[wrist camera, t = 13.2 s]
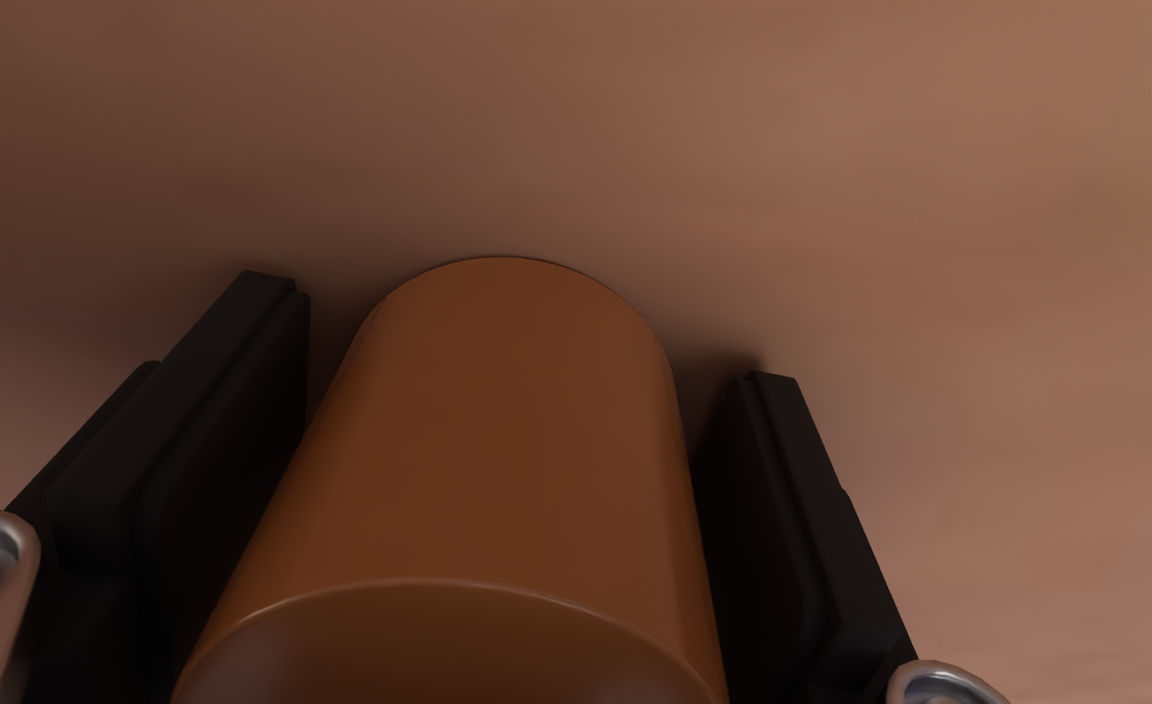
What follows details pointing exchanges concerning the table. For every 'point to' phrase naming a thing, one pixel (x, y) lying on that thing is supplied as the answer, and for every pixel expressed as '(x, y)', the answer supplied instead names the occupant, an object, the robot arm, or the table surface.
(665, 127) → the table surface
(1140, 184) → the table surface
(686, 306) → the table surface
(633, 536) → the orange cylinder
